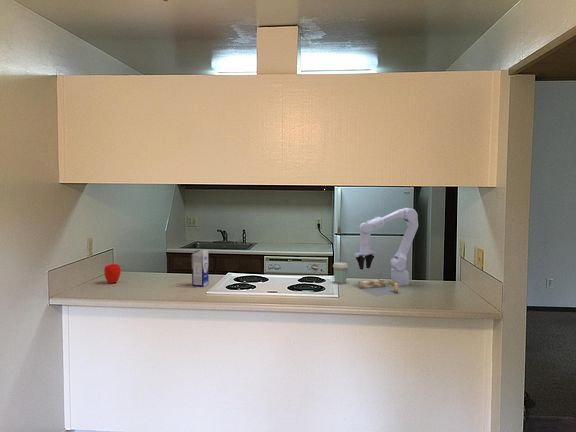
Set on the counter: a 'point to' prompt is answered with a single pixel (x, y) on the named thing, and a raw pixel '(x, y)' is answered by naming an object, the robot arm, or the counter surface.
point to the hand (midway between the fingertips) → (364, 268)
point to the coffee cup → (340, 272)
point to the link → (372, 283)
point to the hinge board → (380, 291)
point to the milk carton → (200, 268)
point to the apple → (112, 273)
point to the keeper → (394, 286)
